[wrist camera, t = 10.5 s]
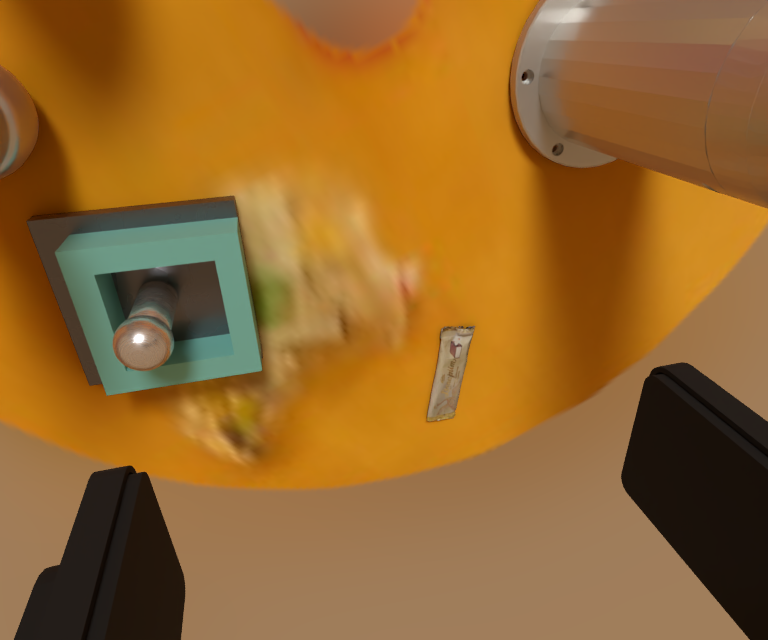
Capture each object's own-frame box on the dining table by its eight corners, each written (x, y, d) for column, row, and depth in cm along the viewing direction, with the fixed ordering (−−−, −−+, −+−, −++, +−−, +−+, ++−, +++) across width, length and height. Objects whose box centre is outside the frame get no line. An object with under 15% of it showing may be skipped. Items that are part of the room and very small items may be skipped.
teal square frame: (237, 217, 34) (237, 232, 31) (260, 348, 39) (262, 370, 36) (69, 234, 32) (54, 252, 30) (116, 370, 37) (106, 395, 34)
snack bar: (457, 418, 48) (431, 427, 46) (446, 408, 49) (421, 417, 47) (477, 326, 43) (449, 333, 42) (465, 318, 44) (438, 324, 43)
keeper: (234, 195, 34) (232, 240, 27) (262, 351, 40) (267, 423, 33) (31, 216, 32) (-31, 271, 25) (93, 377, 38) (57, 460, 31)
